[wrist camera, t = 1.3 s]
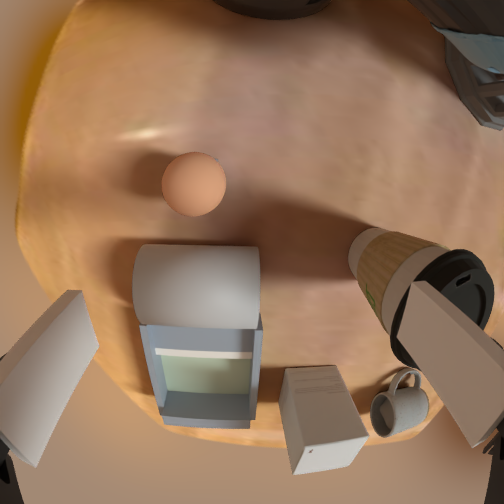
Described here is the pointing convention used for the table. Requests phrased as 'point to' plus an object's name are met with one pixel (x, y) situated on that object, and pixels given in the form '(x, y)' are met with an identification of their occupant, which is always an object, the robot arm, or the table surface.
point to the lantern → (477, 88)
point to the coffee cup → (417, 278)
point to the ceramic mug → (399, 406)
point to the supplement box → (319, 419)
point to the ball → (193, 184)
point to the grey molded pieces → (201, 331)
